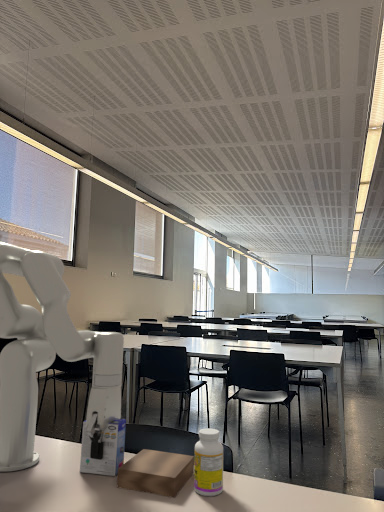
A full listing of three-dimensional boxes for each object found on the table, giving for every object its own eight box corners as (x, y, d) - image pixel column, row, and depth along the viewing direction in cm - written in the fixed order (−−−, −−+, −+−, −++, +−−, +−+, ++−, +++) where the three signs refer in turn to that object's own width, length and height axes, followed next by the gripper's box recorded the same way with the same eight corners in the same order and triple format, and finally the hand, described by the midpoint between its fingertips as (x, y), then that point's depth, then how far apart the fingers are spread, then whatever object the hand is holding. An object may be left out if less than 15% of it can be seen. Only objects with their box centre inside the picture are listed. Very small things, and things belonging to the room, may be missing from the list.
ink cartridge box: (124, 468, 99) (127, 409, 101) (116, 477, 94) (119, 414, 96) (89, 464, 101) (92, 406, 103) (78, 472, 96) (82, 411, 98)
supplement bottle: (196, 482, 92) (197, 425, 94) (224, 485, 90) (225, 428, 92) (191, 495, 85) (192, 434, 87) (220, 499, 84) (221, 436, 86)
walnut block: (116, 487, 88) (117, 468, 89) (143, 465, 101) (143, 448, 102) (174, 497, 84) (174, 477, 85) (193, 473, 97) (194, 456, 98)
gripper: (110, 374, 110) (107, 442, 107) (75, 384, 94) (70, 464, 91) (134, 376, 107) (131, 445, 105) (102, 387, 91) (98, 469, 89)
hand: (103, 453), depth 98 cm, fingers closed on ink cartridge box, 5 cm apart
